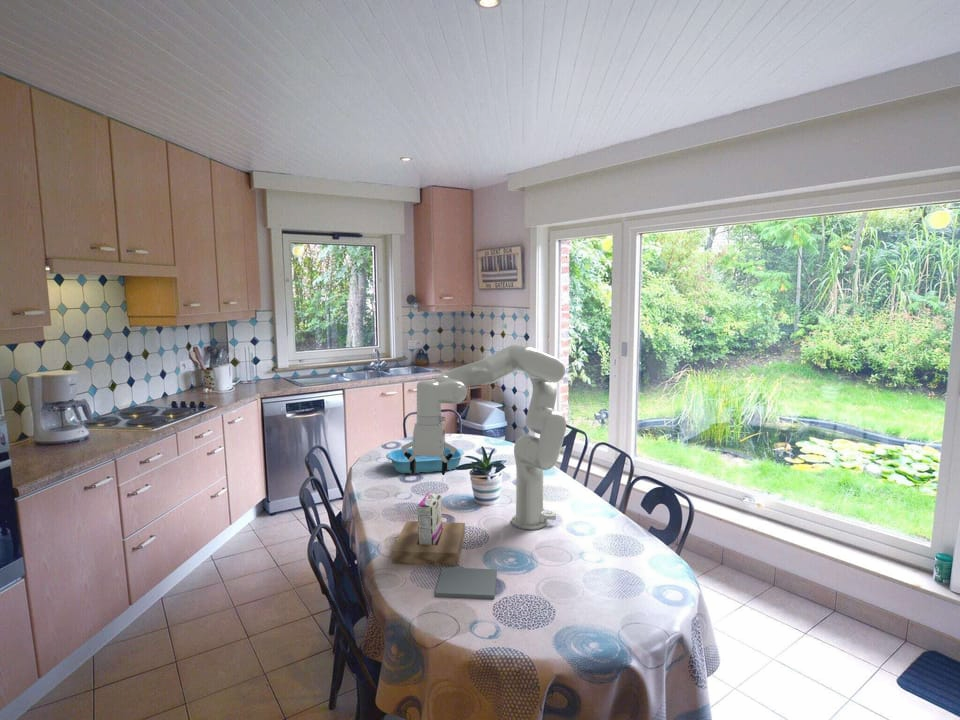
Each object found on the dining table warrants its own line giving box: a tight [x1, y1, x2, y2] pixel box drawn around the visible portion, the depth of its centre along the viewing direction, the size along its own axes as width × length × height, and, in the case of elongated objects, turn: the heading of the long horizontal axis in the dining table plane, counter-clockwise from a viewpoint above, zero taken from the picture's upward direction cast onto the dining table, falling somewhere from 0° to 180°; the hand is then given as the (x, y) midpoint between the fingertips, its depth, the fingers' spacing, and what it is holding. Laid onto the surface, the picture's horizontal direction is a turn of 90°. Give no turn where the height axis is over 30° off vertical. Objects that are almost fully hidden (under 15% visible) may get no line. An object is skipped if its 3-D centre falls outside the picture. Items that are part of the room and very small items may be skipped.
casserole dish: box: [385, 447, 465, 474], centre depth 257 cm, size 37×22×7 cm, turn 106°
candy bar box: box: [417, 492, 443, 545], centre depth 175 cm, size 11×5×16 cm, turn 168°
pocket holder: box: [391, 520, 466, 567], centre depth 175 cm, size 20×22×4 cm
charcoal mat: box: [434, 566, 498, 600], centre depth 154 cm, size 16×14×1 cm
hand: (428, 473), depth 172 cm, fingers open, 9 cm apart
